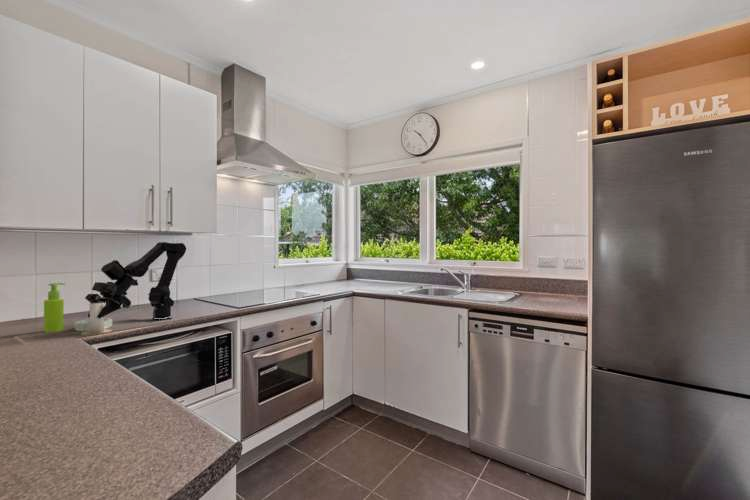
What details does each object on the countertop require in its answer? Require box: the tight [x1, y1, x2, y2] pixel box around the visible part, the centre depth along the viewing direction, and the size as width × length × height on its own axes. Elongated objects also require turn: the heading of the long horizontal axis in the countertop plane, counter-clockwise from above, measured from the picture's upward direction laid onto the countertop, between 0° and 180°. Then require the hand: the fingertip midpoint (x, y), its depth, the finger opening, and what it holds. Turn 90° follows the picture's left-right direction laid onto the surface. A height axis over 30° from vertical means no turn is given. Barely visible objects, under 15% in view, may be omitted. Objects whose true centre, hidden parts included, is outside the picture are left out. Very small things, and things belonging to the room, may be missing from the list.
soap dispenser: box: [43, 282, 66, 333], centre depth 142 cm, size 6×7×20 cm
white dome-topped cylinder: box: [89, 302, 105, 333], centre depth 138 cm, size 5×5×12 cm
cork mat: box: [80, 328, 113, 336], centre depth 138 cm, size 10×10×1 cm
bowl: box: [74, 317, 113, 332], centre depth 146 cm, size 12×12×4 cm
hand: (93, 317), depth 137 cm, fingers closed on white dome-topped cylinder, 5 cm apart
